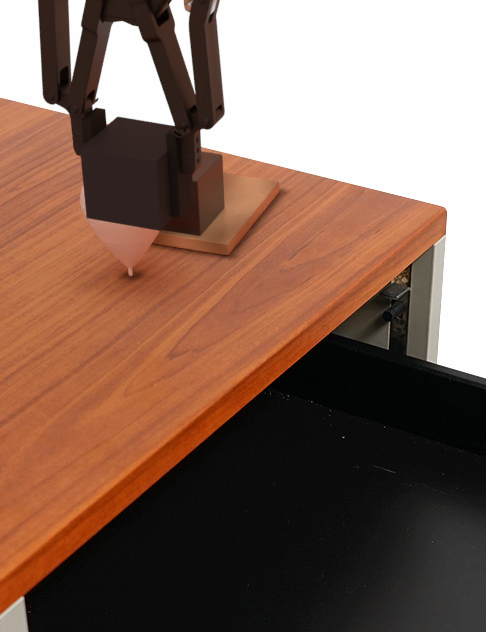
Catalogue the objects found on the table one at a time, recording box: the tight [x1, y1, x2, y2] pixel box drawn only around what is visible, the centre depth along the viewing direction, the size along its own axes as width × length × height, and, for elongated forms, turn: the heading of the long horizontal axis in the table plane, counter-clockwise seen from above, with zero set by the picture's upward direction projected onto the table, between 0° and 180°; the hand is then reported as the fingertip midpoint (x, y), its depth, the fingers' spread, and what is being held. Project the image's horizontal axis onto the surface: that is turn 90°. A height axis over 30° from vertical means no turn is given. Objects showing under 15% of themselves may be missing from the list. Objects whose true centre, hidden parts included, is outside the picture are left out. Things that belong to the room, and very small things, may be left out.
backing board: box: [152, 150, 280, 256], centre depth 138 cm, size 12×16×7 cm
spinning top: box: [79, 184, 159, 277], centre depth 125 cm, size 8×8×12 cm
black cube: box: [80, 116, 193, 231], centre depth 107 cm, size 6×7×6 cm
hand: (141, 202), depth 108 cm, fingers closed on black cube, 6 cm apart
